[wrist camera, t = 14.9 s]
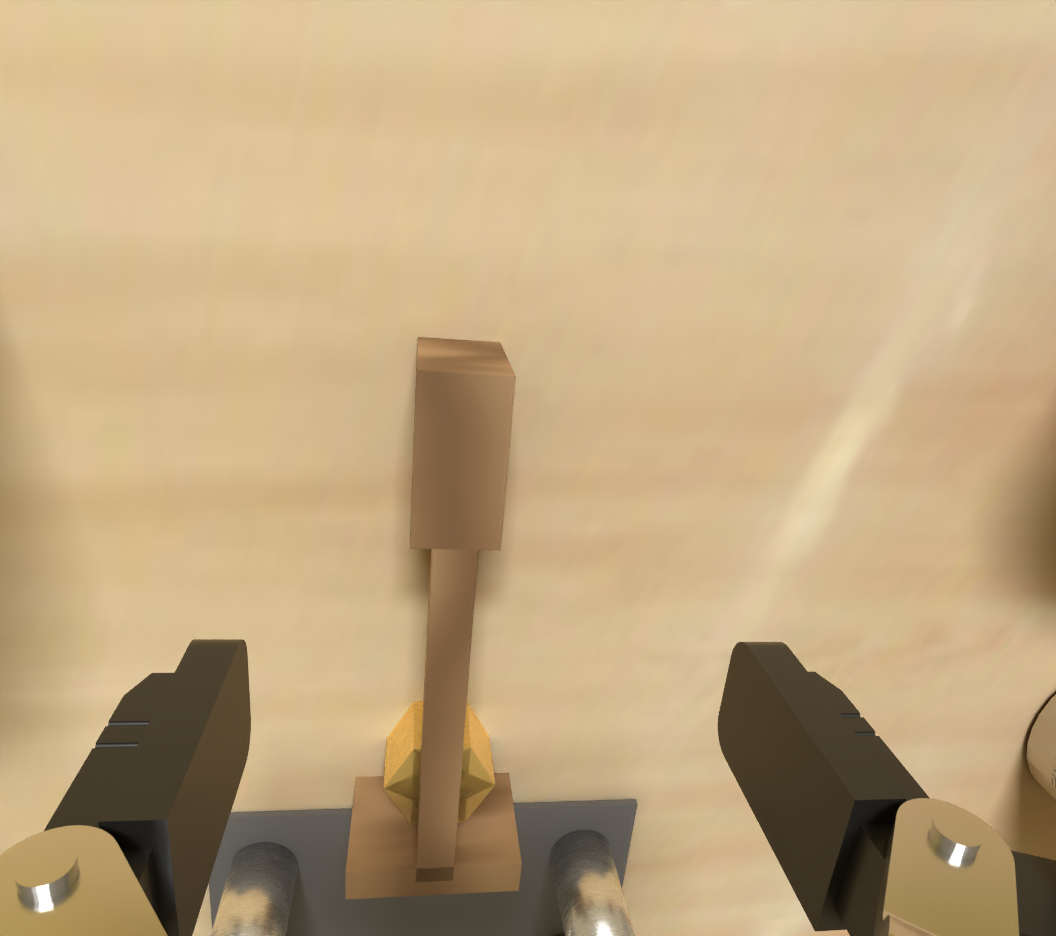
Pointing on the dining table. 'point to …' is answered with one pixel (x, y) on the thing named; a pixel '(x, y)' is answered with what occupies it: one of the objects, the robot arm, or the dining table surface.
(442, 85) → the dining table surface
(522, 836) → the spacer mat
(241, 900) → the steel spacers
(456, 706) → the wooden mallet
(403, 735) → the brass nut
